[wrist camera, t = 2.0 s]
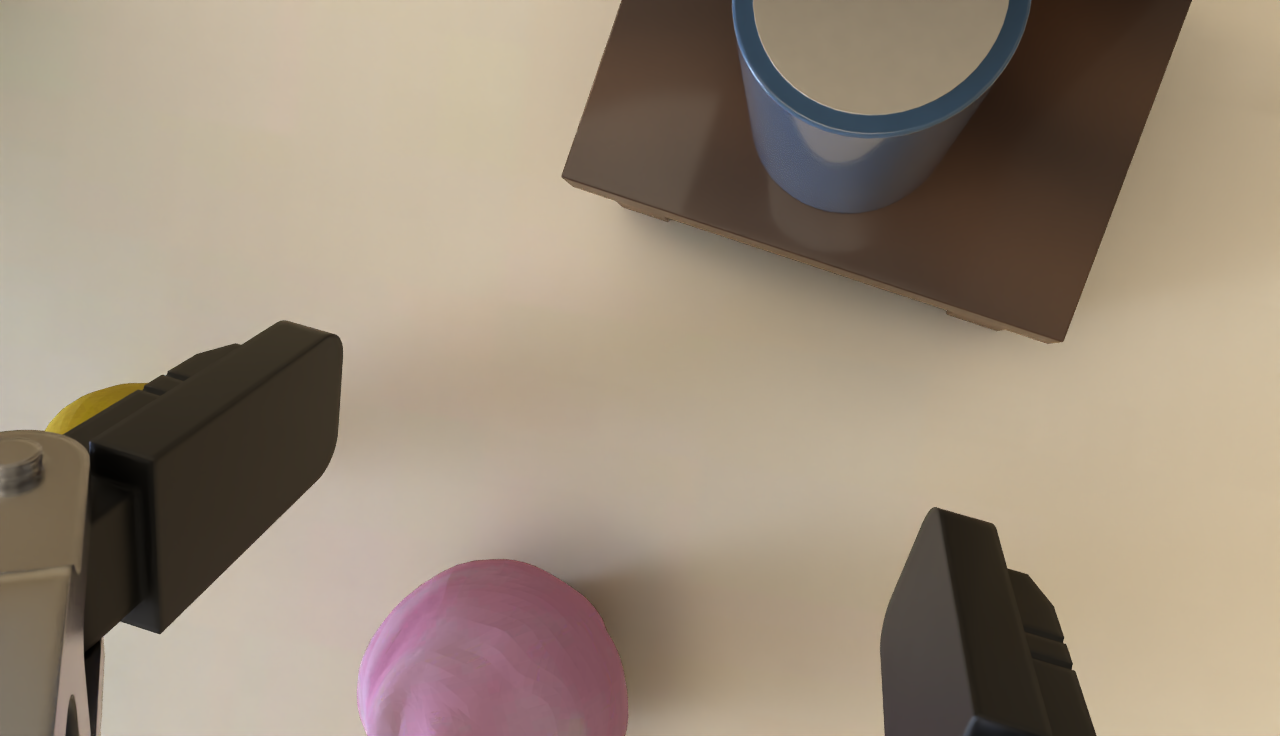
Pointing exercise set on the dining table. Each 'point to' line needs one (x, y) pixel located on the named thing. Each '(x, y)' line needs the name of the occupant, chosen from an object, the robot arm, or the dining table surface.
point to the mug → (867, 89)
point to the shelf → (942, 205)
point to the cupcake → (493, 659)
